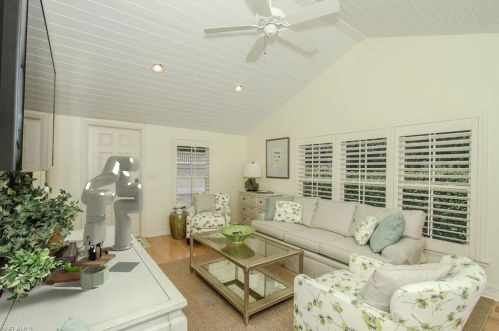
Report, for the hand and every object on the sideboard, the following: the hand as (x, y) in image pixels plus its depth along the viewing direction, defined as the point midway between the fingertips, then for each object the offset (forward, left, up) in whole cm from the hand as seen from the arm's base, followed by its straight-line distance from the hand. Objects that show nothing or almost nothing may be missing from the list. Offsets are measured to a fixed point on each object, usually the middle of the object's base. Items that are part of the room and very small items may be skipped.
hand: (95, 258), depth 110 cm
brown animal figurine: (-22, -12, -12) cm, 28 cm away
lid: (0, 0, -1) cm, 1 cm away
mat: (-16, +5, -12) cm, 20 cm away
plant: (-8, -15, -12) cm, 21 cm away
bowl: (0, 0, -12) cm, 12 cm away
